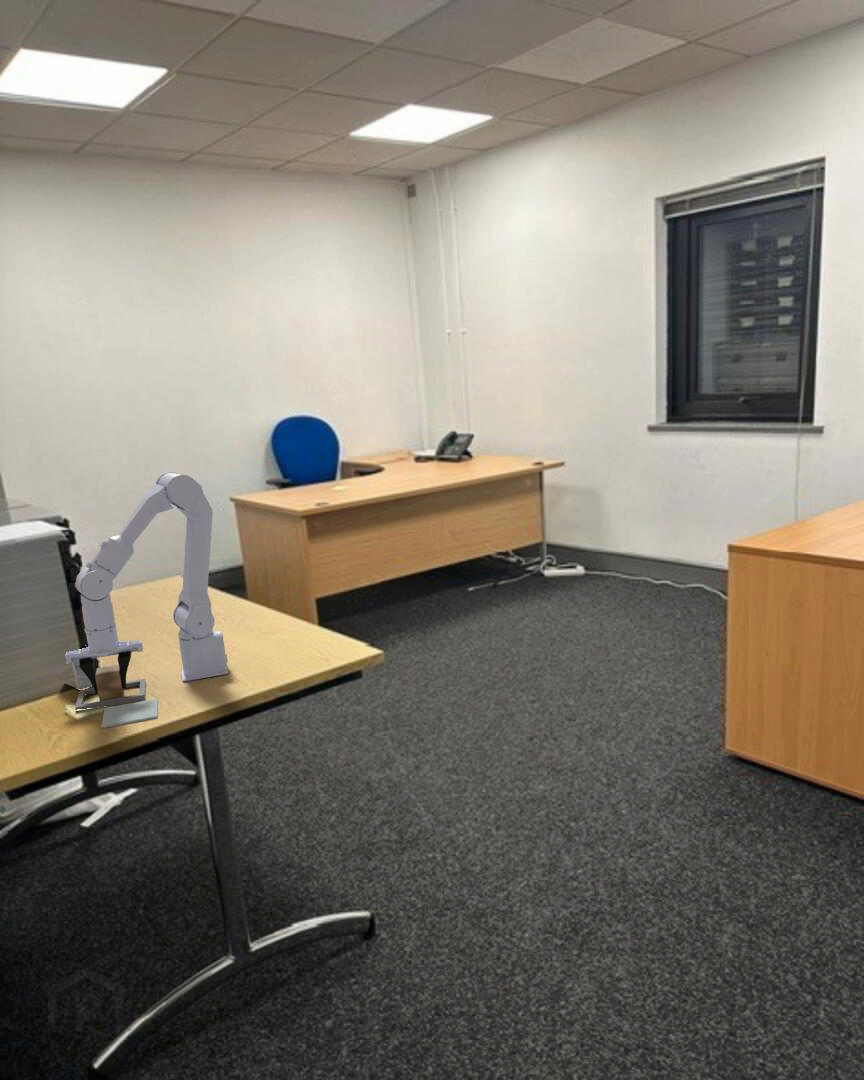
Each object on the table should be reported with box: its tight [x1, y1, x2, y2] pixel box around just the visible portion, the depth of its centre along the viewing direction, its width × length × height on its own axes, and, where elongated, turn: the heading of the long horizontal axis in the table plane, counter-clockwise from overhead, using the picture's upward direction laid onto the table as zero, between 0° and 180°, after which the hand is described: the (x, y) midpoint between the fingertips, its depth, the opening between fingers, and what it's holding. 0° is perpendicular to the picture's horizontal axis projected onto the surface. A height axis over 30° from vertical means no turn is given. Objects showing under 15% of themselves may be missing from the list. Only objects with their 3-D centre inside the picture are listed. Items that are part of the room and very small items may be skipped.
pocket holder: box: [74, 678, 147, 711], centre depth 161 cm, size 13×10×1 cm
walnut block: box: [95, 664, 125, 701], centre depth 161 cm, size 4×4×6 cm
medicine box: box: [72, 661, 92, 689], centre depth 168 cm, size 8×4×9 cm, turn 48°
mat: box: [101, 698, 159, 729], centre depth 152 cm, size 10×9×1 cm
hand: (111, 689), depth 161 cm, fingers closed on walnut block, 4 cm apart
